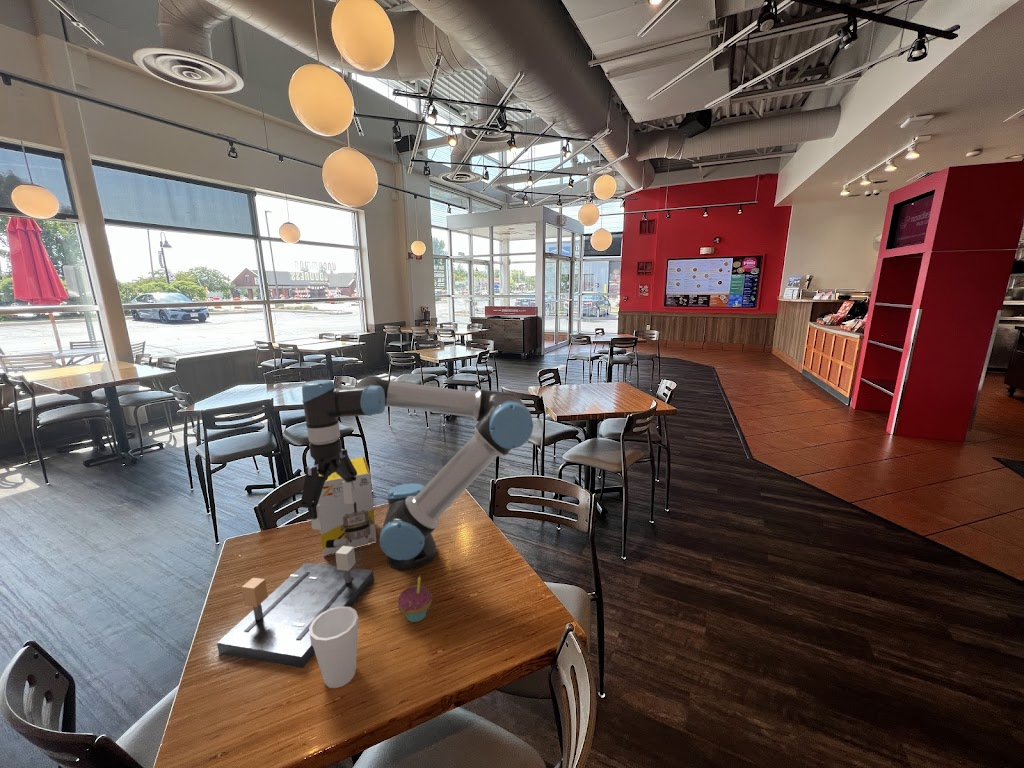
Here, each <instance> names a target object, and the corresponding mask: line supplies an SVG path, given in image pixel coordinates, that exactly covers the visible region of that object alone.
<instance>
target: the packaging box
mask: <svg viewBox="0 0 1024 768" xmlns="http://www.w3.org/2000/svg"><path fill="white" fill-rule="evenodd" d="M349 459H350V460H351V462H352V464H353V466H354V468H355V470H356V471H357V475H356V476H354V477H356V480H355V481H353V493H354V502H355V503H354V504H345V502H344V494H343V486H342V482H343V481H345V480H344V479H343V478H341V477H340V476H339V475H338V474H337V473H336V472H335V473H332V474H331V475H330V476H328V479H327V480H326V481H325V483H324V486H323V489H322V492H321V495H320V498H319V501H318V504H317V505H320V508H321V515H322V522H323V529H322V530H319V531H320V540H321V546H322V555H326V554H330V553H334V552H337V551H338V550H339V549H340V548H341V547H342V546H350V547H357V546H361V545H365V544H368V543H372V542H376V541H377V531H376V522H375V520H376V519H375V512H374V511H375V510H374V502H373V501H374V500H373V488H372V480H371V479H372V478H371V472H370V469H369V465H368V463H367V460H366V457H365V456H362V457H356V458H349ZM319 476H321V475H320V474H319Z"/></svg>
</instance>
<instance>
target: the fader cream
mask: <svg viewBox="0 0 1024 768" xmlns="http://www.w3.org/2000/svg"><path fill="white" fill-rule="evenodd" d="M355 553H356V552H355V549H354V547H350V546H342V547H341V548H340V549H339V550H338V551H337V552H336V553H335V554H334V555H335V561H336V563H335V564H336V566H337V570H344V578H345V583H350V582H351V572H350V569H351V568H354V567H353V566H355V564H356V555H355Z"/></svg>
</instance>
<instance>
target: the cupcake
mask: <svg viewBox="0 0 1024 768" xmlns="http://www.w3.org/2000/svg"><path fill="white" fill-rule="evenodd" d="M432 600H433V594H432V592H431V591H430V590H429V588H428V587H426V586H421V575H419V576H418V577H417V585H413V586H409V587H407V588H406V589H405V590H403V591H402V592H401V593H400V594H399V596H398V599H397V605H396V606H397V609H398V610H399V611H400V612H401V613H402V614H404V615H405V616H406V619H407V621H410V622H411V623H412V622H413V623H415V622H416V623H417V622H421V621H422V620H423V619H425V617H426V614H427V612H428V610H429V607H430V606H431V605H432V602H433V601H432Z"/></svg>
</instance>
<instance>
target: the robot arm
mask: <svg viewBox="0 0 1024 768" xmlns="http://www.w3.org/2000/svg"><path fill="white" fill-rule="evenodd" d="M301 394H302V400H301V401H302V405H303V410H304V411H303V412H304V416H305V425H306V431H307V438H308V442H309V444H308V446H309V455H310V457H311V459H313V460H314V463H313V465H312V466H309V465H308V466H306V467H305V469H304V472H305V474H304V475H305V477H304V483H303V488H302V493H301V499H300V503H299V504H300V505H299V507H300V508H303V509H307V510H308V511H307V512H308V518H309V520H310V523H311V529H312V530H316V531H317V530H318V531H320V530H322V529H323V522H322V515H321V508H320V505H317V504H318V501H319V498H320V495H321V492H322V489H323V486H324V483H325V481H326V480H327V479H328V476H330V475H331V474H332V473H335V472H336V473H337V474H338V475H339V476H340V477H341V478H343V479H344V480H345V481H343V482H342V486H343V494H344V502H345V504H354V503H355V502H354V493H353V481H355V480H356V477H354V476H356V475H357V471H356V470H355V468H354V466H353V464H352V462H351V460H350V459H351V458H350V457H349V454H348V450H347V449H346V448H344V449H343V448H342V440H341V438H340V437H341V431H340V422H339V418H343V417H346V418H347V417H360V416H362V417H363V416H368V417H370V416H373V415H381V414H383V413H384V412H385V410H386V407H390V408H397V409H406V410H413V411H414V410H415V411H421V412H428V413H429V412H430V413H435V414H437V413H438V414H446V415H452V416H453V415H454V416H461V417H466V418H467V417H468V418H472V419H473V420H474V422H477V423H476V424H475V425H474V433H473V435H472V437H470V439H469V440H467V442H466V443H465V444H464V445H463V446H462V447H461V448H460V449H459V450H457V452H456V453H455V455H453V456H452V457H451V458H450V460H448V461H447V463H446V464H445V465H444V466H443V467H442V468H441V469H439V471H438V472H437V473H436V475H434V476H433V477H432V478H431V479H430V481H429V482H428V483H427V484H426V485H424V484H420V483H412V482H411V483H403V484H398V485H396V486H393V487H391V488H390V489H389V490H388V492H387V501H388V504H387V505H388V507H387V508H388V509H387V512H386V515H385V518H384V521H383V524H382V525H383V526H382V527H381V530H380V532H379V546H380V548H381V550H382V552H383V553H384V554H385V555H386V557H387V558H386V560H387V563H388V565H389V566H390V567H392V568H394V569H397V570H403V571H405V570H407V571H408V570H416V569H418V568H421V567H424V566H426V565H427V564H429V563H431V562H432V561H433V560H434V559H435V557H436V555H437V544H436V541H435V539H434V537H433V534H432V533H433V532H434V530H435V529H436V528H438V527H439V517H440V516H441V515H443V513H444V512H445V511H446V510H447V509H448V508H449V507H450V506H451V505H452V504H453V503H454V502H455V501H456V500H457V499H458V498H459V497H460V496H461V495H462V493H463V492H464V491H465V490H466V489H467V488H468V487H469V486H470V485H471V484H472V483H473V482H474V481H475V480H476V479H477V478H478V476H480V475H481V473H483V471H484V470H486V468H488V467H489V465H490V464H491V463H492V462H493V461H494V460H495V459H496V458H497V457H505V456H506V455H507V454H509V452H510V451H511V450H512V449H517V448H519V447H522V446H523V445H525V444H526V443H527V442H528V441H529V439H530V437H531V435H532V433H533V429H534V421H533V417H532V414H531V412H530V410H529V408H528V407H527V406H526V405H525V404H524V403H523V401H522V400H521V398H519V397H518V396H517V395H515V394H513V393H510V392H505V391H499V390H498V391H497V390H486V389H478V390H477V391H468V390H461V389H453V388H446V387H440V386H431V385H425V384H418V383H411V382H410V383H409V382H401V381H395V380H387V379H383V378H381V377H379V376H377V375H369V376H366V377H364V378H362V379H361V380H360V381H359V382H358V383H357V384H356V385H355V386H348V387H336V386H335V384H334V381H333V380H332V379H331V380H330V379H320V380H319V379H317V380H311V381H307V382H305V383H304V384H302V386H301ZM319 474H320V475H321V476H319Z"/></svg>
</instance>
